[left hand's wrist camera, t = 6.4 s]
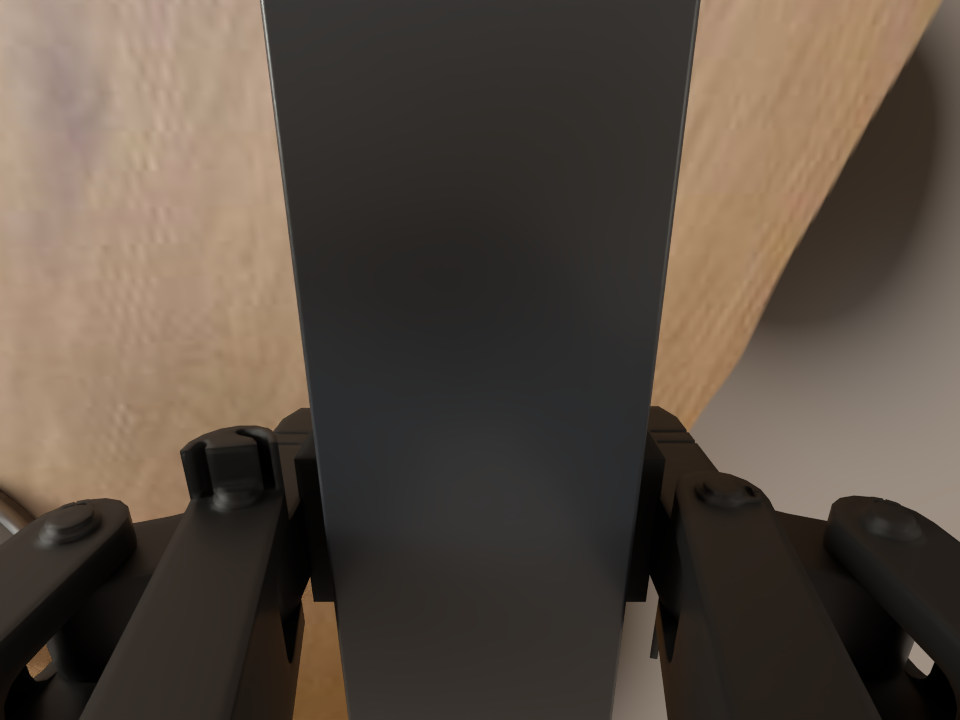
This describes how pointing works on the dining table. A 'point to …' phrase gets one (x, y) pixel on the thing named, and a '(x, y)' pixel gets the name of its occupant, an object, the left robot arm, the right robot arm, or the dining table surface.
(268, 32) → the slate bar
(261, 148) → the dining table surface
